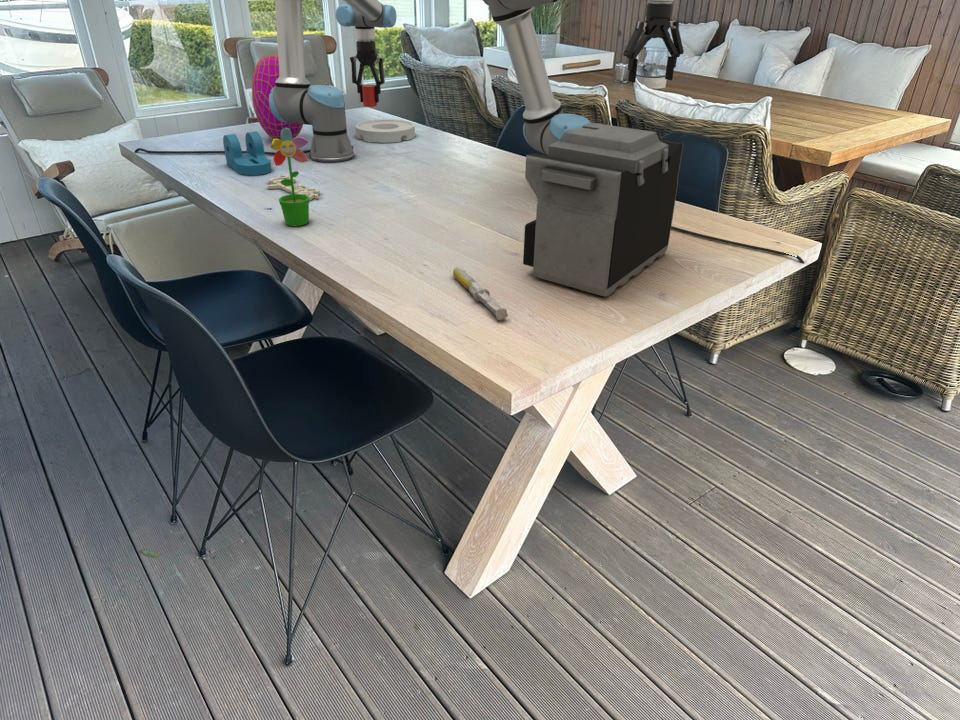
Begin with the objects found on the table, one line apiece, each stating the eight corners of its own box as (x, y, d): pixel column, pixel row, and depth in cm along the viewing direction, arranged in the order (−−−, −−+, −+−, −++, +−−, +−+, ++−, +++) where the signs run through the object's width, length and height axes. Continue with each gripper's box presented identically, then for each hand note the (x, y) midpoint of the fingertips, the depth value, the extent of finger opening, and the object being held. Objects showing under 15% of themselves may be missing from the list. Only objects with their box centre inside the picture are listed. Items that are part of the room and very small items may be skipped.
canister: (365, 104, 287) (363, 84, 283) (378, 104, 286) (377, 84, 282) (361, 106, 282) (360, 86, 278) (375, 107, 282) (373, 86, 278)
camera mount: (227, 164, 233) (221, 132, 227) (257, 160, 238) (252, 129, 233) (244, 176, 220) (239, 143, 215) (276, 172, 225) (271, 139, 220)
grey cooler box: (592, 232, 179) (603, 112, 164) (672, 251, 168) (693, 125, 153) (515, 277, 153) (520, 140, 138) (603, 303, 142) (620, 157, 127)
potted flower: (284, 229, 179) (270, 130, 166) (277, 220, 185) (263, 124, 172) (319, 224, 183) (308, 127, 170) (311, 215, 188) (300, 121, 176)
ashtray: (362, 128, 283) (361, 118, 281) (418, 129, 282) (417, 119, 280) (351, 142, 263) (350, 131, 261) (411, 143, 262) (411, 132, 260)
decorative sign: (256, 179, 214) (285, 174, 220) (256, 182, 215) (285, 177, 220) (297, 199, 197) (327, 193, 203) (297, 203, 198) (328, 196, 203)
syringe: (449, 274, 155) (449, 263, 153) (465, 272, 156) (464, 260, 154) (490, 323, 135) (491, 310, 133) (508, 319, 136) (508, 307, 134)
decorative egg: (293, 132, 276) (283, 50, 261) (319, 140, 264) (310, 56, 249) (249, 139, 265) (236, 54, 250) (273, 148, 253) (261, 60, 238)
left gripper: (390, 39, 274) (394, 101, 286) (345, 38, 276) (350, 99, 288) (386, 42, 268) (389, 104, 279) (339, 40, 269) (345, 102, 281)
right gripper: (686, 1, 206) (675, 76, 217) (616, 2, 197) (608, 81, 208) (703, 2, 200) (691, 80, 211) (631, 3, 192) (622, 84, 202)
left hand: (369, 101), depth 283 cm, fingers closed on canister, 6 cm apart
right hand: (650, 80), depth 210 cm, fingers open, 13 cm apart
